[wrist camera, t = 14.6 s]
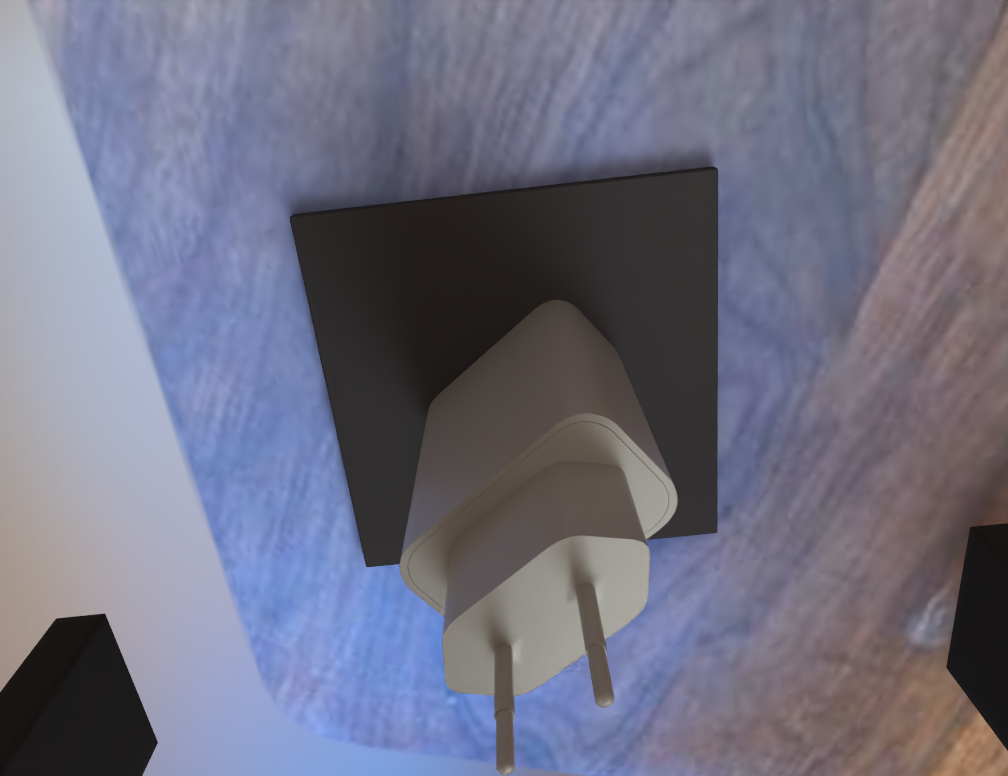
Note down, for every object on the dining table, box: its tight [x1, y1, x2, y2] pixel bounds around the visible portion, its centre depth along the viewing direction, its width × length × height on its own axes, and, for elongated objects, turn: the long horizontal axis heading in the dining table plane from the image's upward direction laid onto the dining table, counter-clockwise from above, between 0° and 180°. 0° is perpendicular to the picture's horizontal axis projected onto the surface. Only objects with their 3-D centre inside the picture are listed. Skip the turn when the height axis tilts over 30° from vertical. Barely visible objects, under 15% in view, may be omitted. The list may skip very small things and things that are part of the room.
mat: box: [290, 167, 718, 567], centre depth 22 cm, size 11×11×1 cm
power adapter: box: [400, 300, 677, 775], centre depth 16 cm, size 3×5×12 cm, turn 133°
